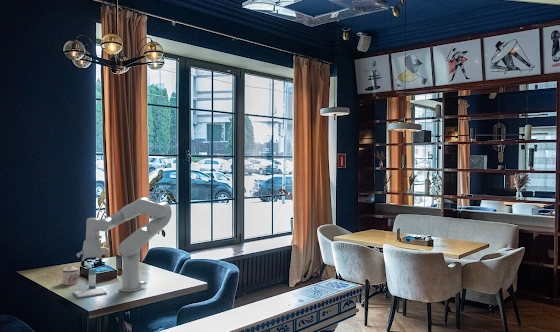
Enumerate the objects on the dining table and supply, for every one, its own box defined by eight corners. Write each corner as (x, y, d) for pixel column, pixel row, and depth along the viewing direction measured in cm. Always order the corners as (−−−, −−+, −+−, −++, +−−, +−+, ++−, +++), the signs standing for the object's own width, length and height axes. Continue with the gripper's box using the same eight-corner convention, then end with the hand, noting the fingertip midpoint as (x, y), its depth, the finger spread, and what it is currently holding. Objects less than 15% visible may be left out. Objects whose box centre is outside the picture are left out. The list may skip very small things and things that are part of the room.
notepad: (100, 289, 282) (100, 287, 282) (106, 294, 272) (106, 292, 272) (72, 293, 272) (72, 291, 272) (77, 298, 263) (77, 297, 263)
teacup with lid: (69, 286, 287) (69, 267, 287) (58, 284, 291) (58, 265, 291) (84, 281, 298) (85, 263, 298) (74, 279, 302) (74, 261, 301)
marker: (94, 287, 285) (94, 268, 285) (96, 289, 282) (96, 269, 282) (87, 288, 283) (88, 268, 283) (89, 290, 280) (89, 270, 280)
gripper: (105, 236, 290) (104, 263, 290) (75, 238, 280) (74, 266, 280) (109, 238, 284) (107, 266, 284) (79, 240, 274) (77, 269, 274)
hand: (91, 266), depth 282 cm, fingers open, 9 cm apart
